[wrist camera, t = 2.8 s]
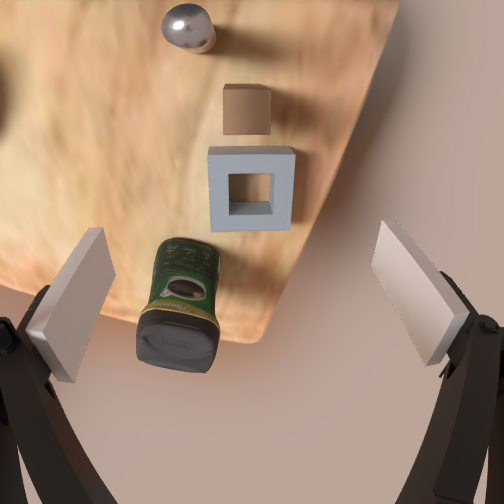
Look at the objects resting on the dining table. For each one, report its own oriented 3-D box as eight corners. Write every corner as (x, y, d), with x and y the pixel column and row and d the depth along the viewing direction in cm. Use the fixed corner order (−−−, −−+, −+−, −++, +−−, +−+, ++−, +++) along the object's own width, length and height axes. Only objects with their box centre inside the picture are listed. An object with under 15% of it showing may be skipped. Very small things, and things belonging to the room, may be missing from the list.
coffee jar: (153, 273, 47) (128, 370, 32) (161, 230, 43) (130, 326, 28) (213, 287, 50) (209, 387, 34) (226, 246, 46) (227, 346, 30)
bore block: (212, 217, 43) (211, 232, 40) (209, 146, 37) (207, 155, 34) (285, 216, 44) (289, 230, 40) (289, 146, 38) (295, 154, 35)
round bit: (182, 54, 31) (161, 48, 21) (182, 24, 28) (161, 6, 18) (216, 52, 31) (210, 44, 21) (216, 22, 29) (210, 1, 19)
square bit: (225, 115, 35) (223, 135, 25) (225, 84, 33) (222, 89, 23) (258, 115, 36) (270, 134, 26) (258, 83, 33) (271, 89, 23)
